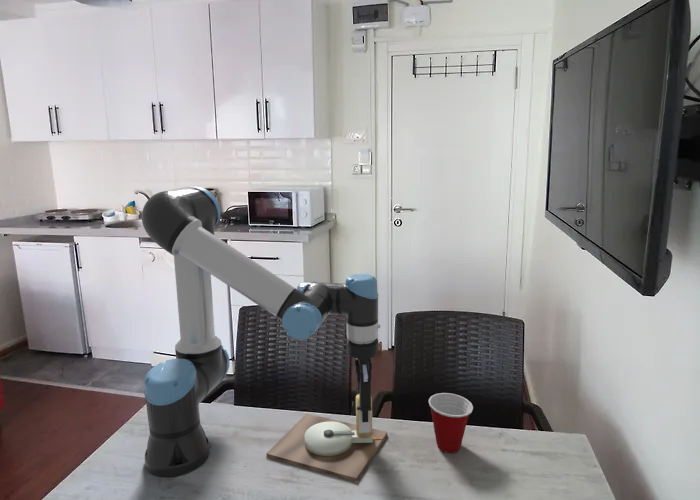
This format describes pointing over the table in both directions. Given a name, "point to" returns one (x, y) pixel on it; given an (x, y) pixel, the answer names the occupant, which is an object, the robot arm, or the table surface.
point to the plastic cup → (449, 420)
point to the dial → (335, 436)
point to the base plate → (338, 465)
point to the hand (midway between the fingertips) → (364, 426)
